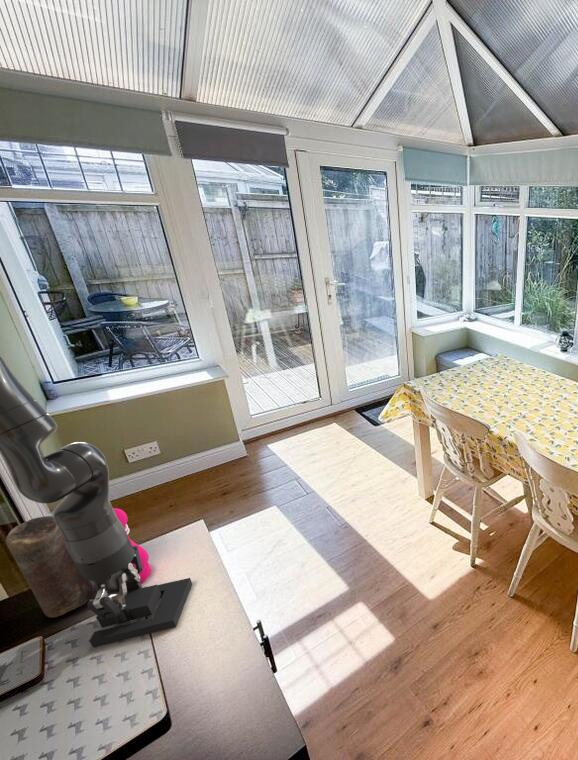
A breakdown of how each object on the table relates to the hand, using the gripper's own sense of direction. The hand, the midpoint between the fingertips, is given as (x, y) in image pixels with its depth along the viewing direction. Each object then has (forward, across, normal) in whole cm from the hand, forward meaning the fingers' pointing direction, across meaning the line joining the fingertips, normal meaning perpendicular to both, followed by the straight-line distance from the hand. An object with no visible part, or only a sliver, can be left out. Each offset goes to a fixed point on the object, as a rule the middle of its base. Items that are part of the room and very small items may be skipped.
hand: (131, 608), depth 82 cm
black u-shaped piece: (+2, 0, +2) cm, 3 cm away
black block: (+1, 0, 0) cm, 1 cm away
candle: (+2, -7, -13) cm, 15 cm away
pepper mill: (+2, -11, -4) cm, 12 cm away
